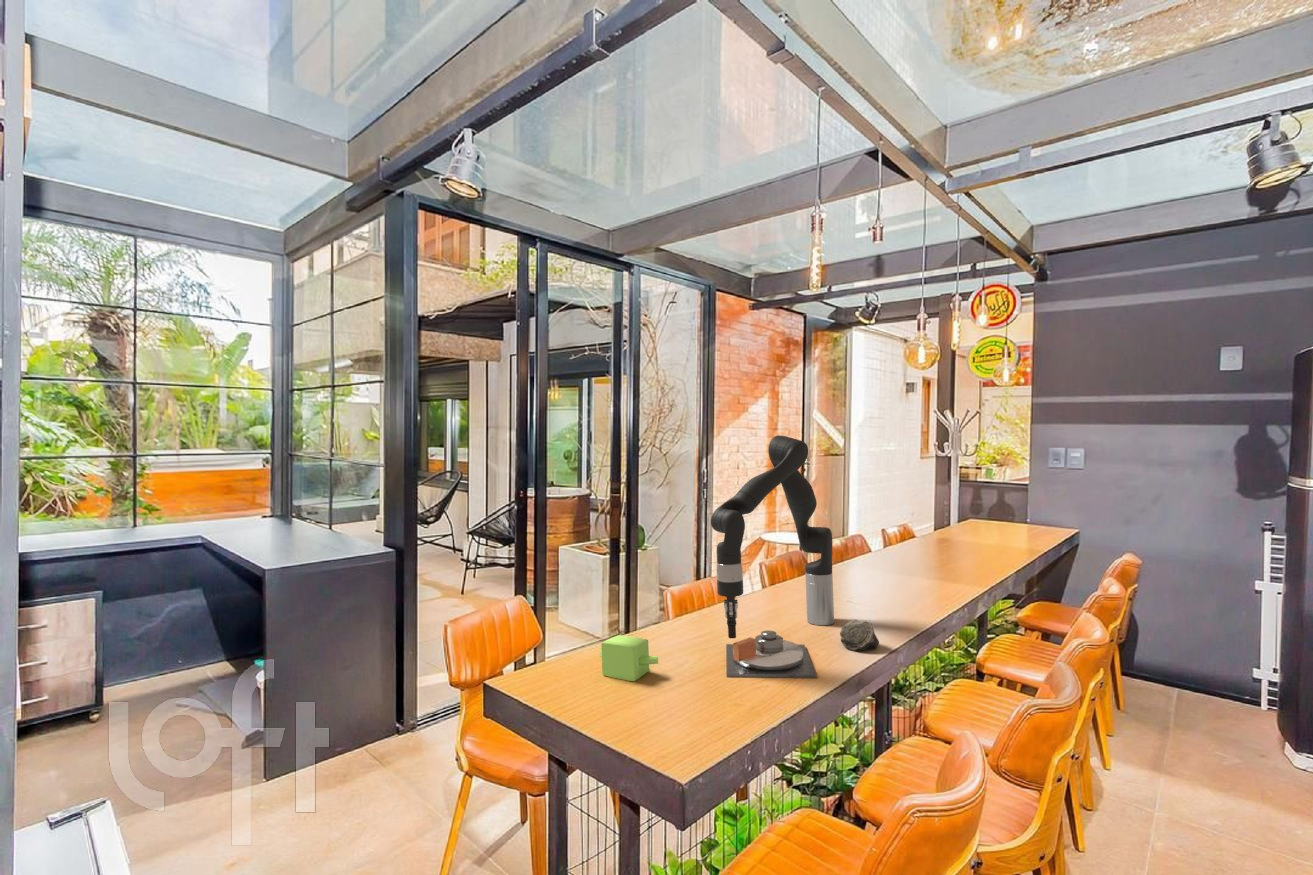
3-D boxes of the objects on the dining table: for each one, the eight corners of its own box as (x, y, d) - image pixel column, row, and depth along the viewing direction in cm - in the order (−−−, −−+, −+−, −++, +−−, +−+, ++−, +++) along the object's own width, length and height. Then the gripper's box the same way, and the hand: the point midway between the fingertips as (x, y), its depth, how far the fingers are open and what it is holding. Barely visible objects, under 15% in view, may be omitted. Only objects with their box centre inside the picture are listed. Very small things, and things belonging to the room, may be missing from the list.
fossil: (836, 648, 178) (838, 614, 183) (843, 654, 185) (845, 621, 189) (874, 652, 173) (874, 617, 177) (880, 658, 179) (880, 624, 184)
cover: (749, 648, 172) (749, 632, 172) (768, 642, 177) (767, 626, 177) (770, 655, 166) (769, 639, 166) (789, 648, 171) (788, 632, 171)
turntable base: (726, 646, 184) (726, 644, 184) (804, 647, 182) (804, 644, 182) (726, 676, 161) (726, 673, 161) (816, 677, 158) (816, 674, 158)
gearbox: (666, 672, 165) (665, 638, 166) (648, 685, 157) (647, 649, 157) (614, 662, 175) (613, 630, 175) (594, 674, 166) (593, 640, 166)
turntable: (711, 659, 171) (710, 635, 171) (764, 640, 185) (763, 619, 185) (764, 678, 155) (763, 653, 155) (817, 657, 170) (816, 633, 170)
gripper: (743, 583, 164) (746, 645, 164) (742, 572, 177) (744, 629, 177) (716, 583, 165) (718, 645, 165) (717, 572, 178) (719, 629, 178)
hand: (732, 637), depth 171 cm, fingers closed
